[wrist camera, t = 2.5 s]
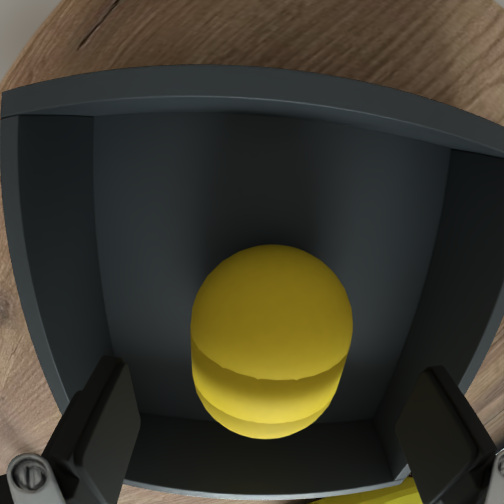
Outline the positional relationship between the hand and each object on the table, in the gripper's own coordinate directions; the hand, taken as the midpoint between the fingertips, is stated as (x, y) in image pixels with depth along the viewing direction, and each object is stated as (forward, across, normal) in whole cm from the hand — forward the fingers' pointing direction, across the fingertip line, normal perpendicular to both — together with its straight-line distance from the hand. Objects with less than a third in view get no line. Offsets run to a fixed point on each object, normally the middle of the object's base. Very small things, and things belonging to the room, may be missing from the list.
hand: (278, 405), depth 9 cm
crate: (+6, 0, 0) cm, 6 cm away
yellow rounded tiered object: (+5, 0, 0) cm, 5 cm away
